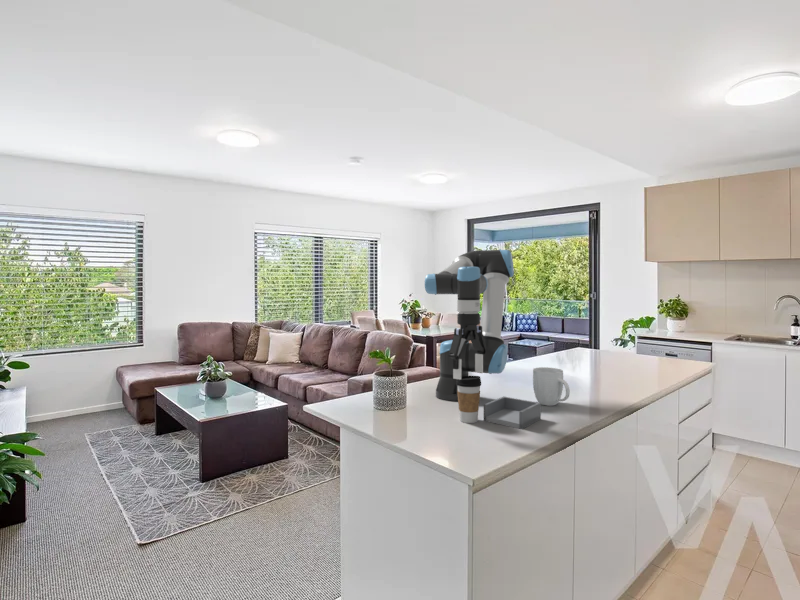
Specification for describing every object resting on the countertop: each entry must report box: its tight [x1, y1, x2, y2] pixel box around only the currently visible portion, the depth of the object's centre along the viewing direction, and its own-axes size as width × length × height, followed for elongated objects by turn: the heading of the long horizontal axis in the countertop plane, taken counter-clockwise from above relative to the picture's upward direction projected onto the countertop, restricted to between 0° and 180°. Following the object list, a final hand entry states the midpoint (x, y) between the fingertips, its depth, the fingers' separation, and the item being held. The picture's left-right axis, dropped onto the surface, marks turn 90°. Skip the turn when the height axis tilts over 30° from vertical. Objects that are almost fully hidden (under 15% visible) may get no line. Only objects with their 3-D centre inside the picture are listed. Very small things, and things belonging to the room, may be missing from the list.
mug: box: [532, 366, 571, 407], centre depth 174 cm, size 15×11×13 cm
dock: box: [483, 396, 542, 430], centre depth 156 cm, size 14×14×6 cm
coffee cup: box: [456, 375, 482, 424], centre depth 155 cm, size 8×8×15 cm
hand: (468, 375), depth 154 cm, fingers open, 13 cm apart
